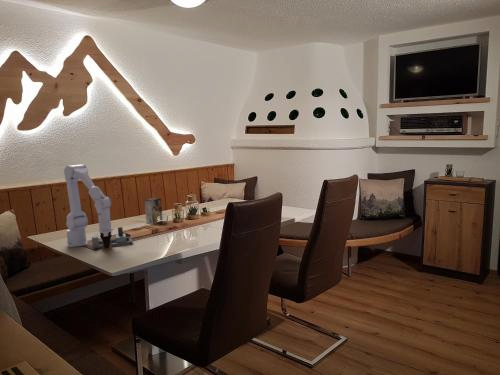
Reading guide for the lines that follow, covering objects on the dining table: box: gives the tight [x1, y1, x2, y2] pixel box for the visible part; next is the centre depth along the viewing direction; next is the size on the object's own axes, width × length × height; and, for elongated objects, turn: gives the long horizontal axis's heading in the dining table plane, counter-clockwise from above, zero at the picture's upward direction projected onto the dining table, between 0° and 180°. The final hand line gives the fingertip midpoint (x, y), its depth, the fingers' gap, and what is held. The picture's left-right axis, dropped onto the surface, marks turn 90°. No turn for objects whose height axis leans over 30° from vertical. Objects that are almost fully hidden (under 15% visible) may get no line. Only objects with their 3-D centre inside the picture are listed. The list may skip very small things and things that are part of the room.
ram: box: [115, 226, 127, 243], centre depth 212 cm, size 5×8×8 cm, turn 21°
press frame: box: [91, 232, 133, 250], centre depth 210 cm, size 20×11×6 cm, turn 111°
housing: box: [101, 238, 113, 252], centre depth 201 cm, size 4×4×5 cm
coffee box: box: [144, 197, 163, 225], centre depth 259 cm, size 9×6×16 cm
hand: (106, 246), depth 201 cm, fingers closed on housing, 4 cm apart
